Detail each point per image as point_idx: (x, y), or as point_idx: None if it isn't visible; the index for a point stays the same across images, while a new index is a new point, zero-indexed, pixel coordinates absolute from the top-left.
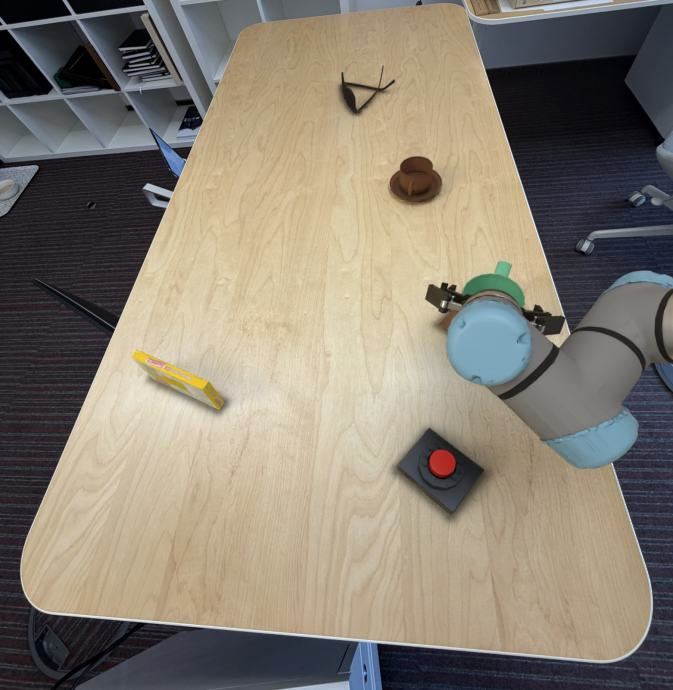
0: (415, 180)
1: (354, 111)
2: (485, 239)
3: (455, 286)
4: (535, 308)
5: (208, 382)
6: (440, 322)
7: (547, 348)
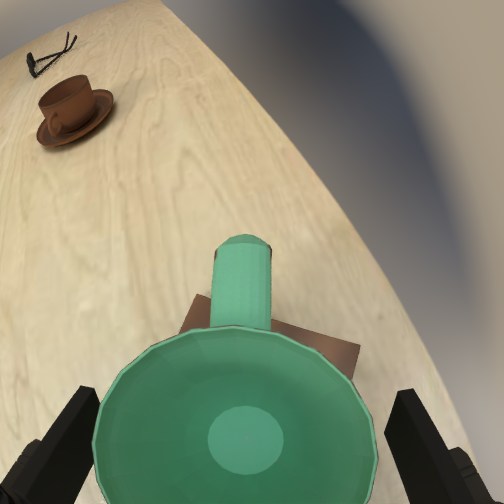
0: (58, 109)
1: (34, 76)
2: (201, 168)
3: (69, 425)
4: (415, 438)
5: None
6: None
7: None
